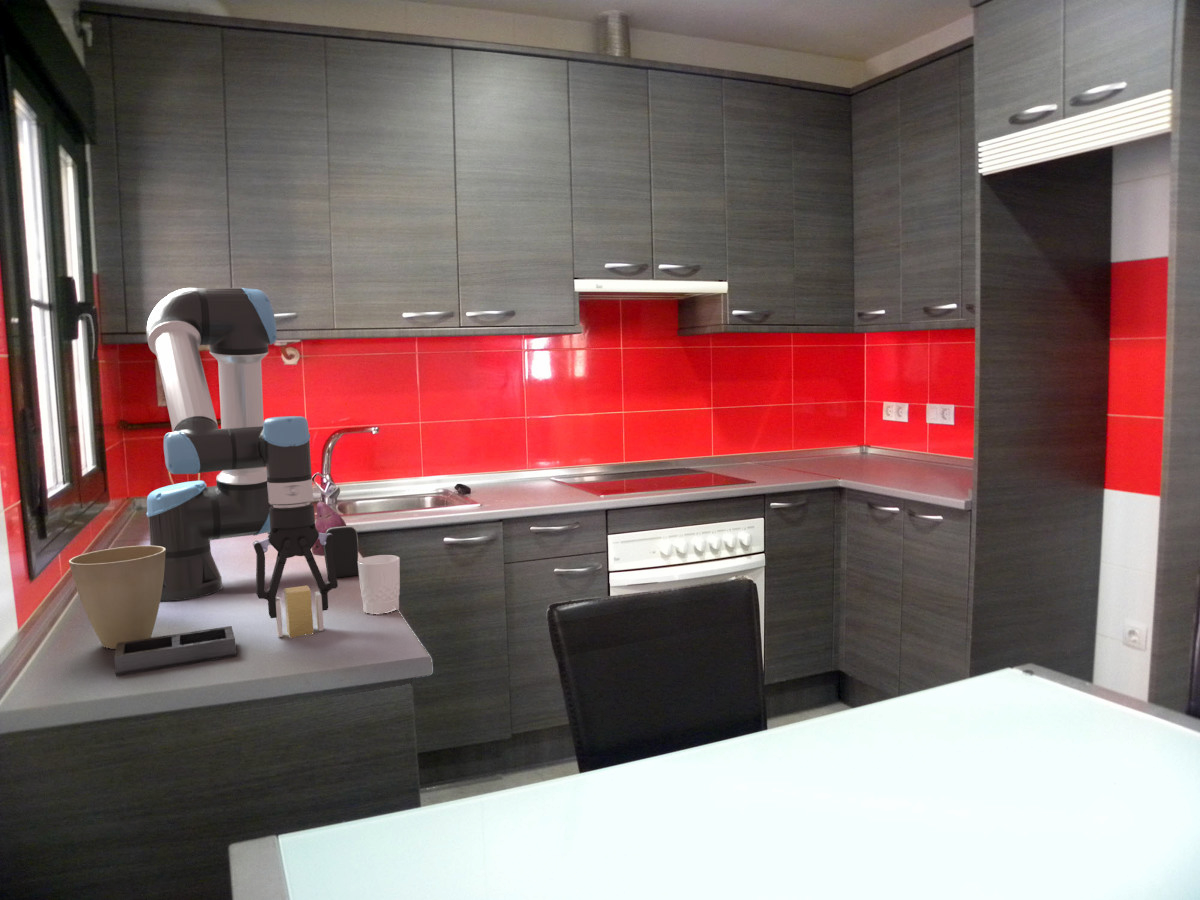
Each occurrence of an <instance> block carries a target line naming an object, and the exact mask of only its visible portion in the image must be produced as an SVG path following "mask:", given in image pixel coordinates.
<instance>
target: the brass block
mask: <svg viewBox="0 0 1200 900" xmlns="http://www.w3.org/2000/svg"><path fill="white" fill-rule="evenodd" d="M283 592H284V604H285V605H284V607H285V619H286V620H285V621H286V631H287V632H288V633H287V632H286V633H287V635H288V634H289V635H288V637H289V636H290V637H293V638H296V637H295V636H299V637H301V636H300V635H305V634H312V633H314V620H313V607H312V606H313V605H312V594H311V593H312V592H311V588H310V587H309V585H302V586H294V587H287V588H283ZM312 635H313V634H312ZM305 636H306V635H305ZM290 637H289V638H290Z"/></svg>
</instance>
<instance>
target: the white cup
mask: <svg viewBox="0 0 1200 900" xmlns="http://www.w3.org/2000/svg"><path fill="white" fill-rule="evenodd" d="M400 559H401V558H400V557H399V556H398V555H392V554H379V555H378V554H377V555H372V556H365V557H362V558H360V559H359V558H358V571H359V575H358V580H359V586H360V596H361V599H362V609H363V610H362V611H363V613H365V612H366V613H365V614H367V613H372V614H371V615H373V614H374V613H385V612H388V611H391V610H392V609H394V607H395V608H396V609H397V611H399V609H400V590H401V589H400V588H401V582H400V581H401V577H400V573H401V572H400V571H401V569H400V568H401V567H400V565H401V564H400V562H401V560H400ZM393 606H394V607H393Z"/></svg>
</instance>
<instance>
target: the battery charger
mask: <svg viewBox="0 0 1200 900" xmlns="http://www.w3.org/2000/svg"><path fill="white" fill-rule="evenodd" d="M326 533H331V534H332V535H333V536H334V541H333V546H332V550H333V557H334V564H335V570H336V577H337V579H338V578H339V579H340V578H347V577H356V576H359V571H358V560H359V539H358V532H357V530H356V529H355V527H354V526H352V525H347V526H337V527H331V528H329V529H327V531H326Z"/></svg>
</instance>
